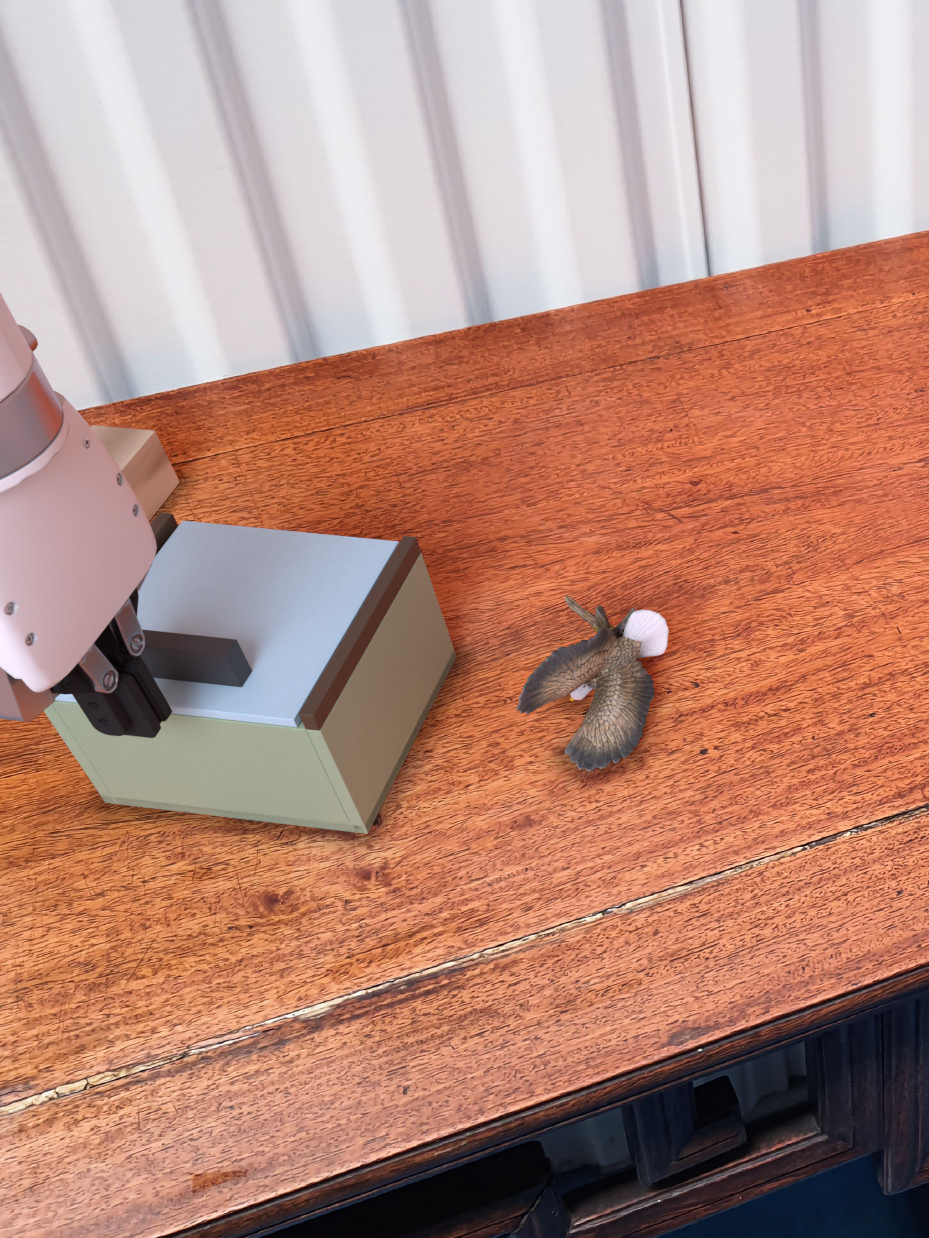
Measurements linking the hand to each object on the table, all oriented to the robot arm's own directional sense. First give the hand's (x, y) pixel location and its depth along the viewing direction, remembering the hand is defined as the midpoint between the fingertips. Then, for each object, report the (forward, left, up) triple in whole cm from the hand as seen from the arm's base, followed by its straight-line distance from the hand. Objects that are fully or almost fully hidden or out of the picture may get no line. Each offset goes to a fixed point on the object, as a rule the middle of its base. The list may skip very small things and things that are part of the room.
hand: (135, 722), depth 68 cm
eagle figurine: (+18, +13, -11) cm, 25 cm away
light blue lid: (0, +9, -2) cm, 9 cm away
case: (0, +9, -11) cm, 14 cm away
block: (-20, +27, -11) cm, 36 cm away
